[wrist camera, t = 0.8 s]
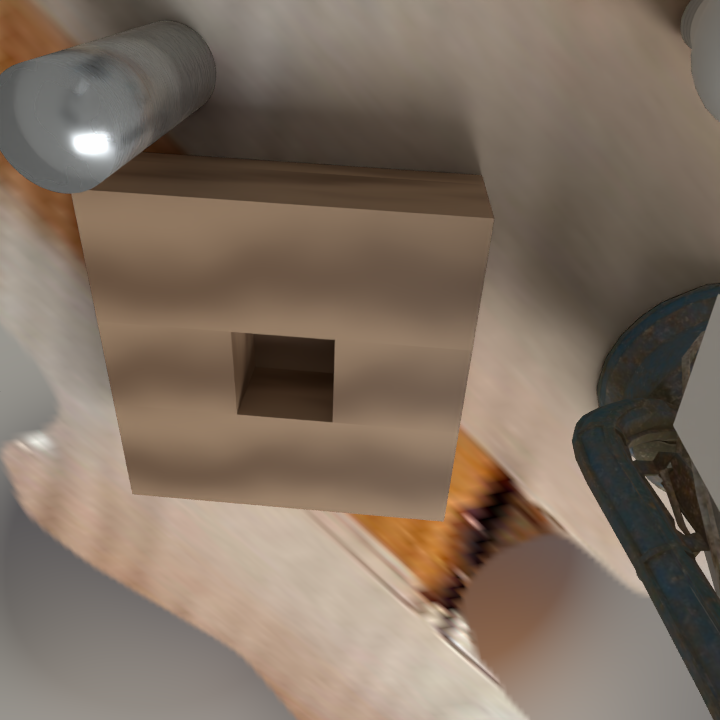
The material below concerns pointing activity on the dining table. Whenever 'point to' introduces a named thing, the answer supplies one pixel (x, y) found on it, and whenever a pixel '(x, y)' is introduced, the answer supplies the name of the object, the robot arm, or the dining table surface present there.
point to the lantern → (659, 477)
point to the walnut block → (287, 327)
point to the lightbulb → (704, 50)
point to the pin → (101, 103)
